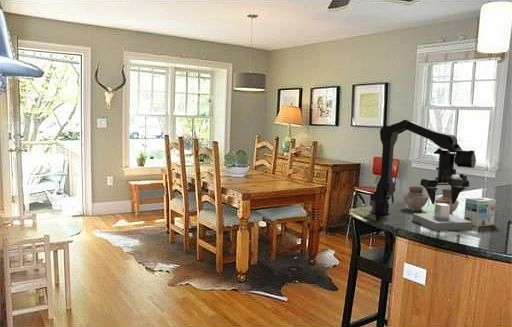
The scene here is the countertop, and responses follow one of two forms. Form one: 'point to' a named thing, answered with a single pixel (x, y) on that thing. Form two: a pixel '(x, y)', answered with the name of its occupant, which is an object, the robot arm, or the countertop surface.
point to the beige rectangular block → (442, 211)
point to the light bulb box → (480, 211)
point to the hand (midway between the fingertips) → (443, 203)
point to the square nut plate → (442, 222)
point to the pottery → (418, 199)
